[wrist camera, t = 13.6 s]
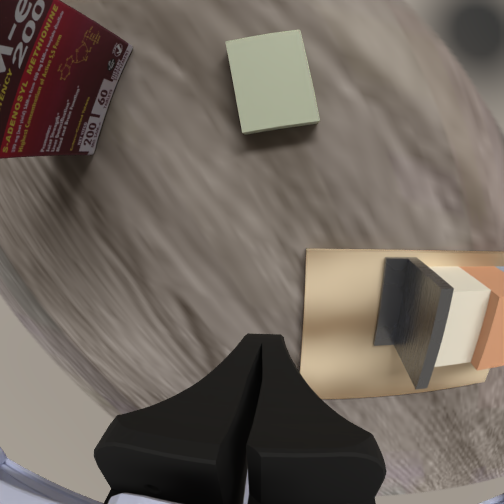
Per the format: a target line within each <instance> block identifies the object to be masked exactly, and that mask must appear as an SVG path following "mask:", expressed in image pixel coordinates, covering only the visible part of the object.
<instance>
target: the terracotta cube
mask: <svg viewBox="0 0 504 504" xmlns="http://www.w3.org/2000/svg"><path fill="white" fill-rule="evenodd" d="M460 268H461V269H463V270H464V271H466V272H467V273H468V274H470V275H471V276H472V277H474V278H475V279H477V280H478V281H479V282H481V283H482V284H483V285H485V286H486V287H487V288H489V289H490V290H491V293H490V297H489V301H488V305H487V309H486V313H485V317H484V321H483V324H482V328H481V331H480V335H479V338H478V341H477V344H476V347H475V351H474V354H473V357H472V359H471V364H472V365H473V366H474V368H475V369H476V370H477V371H478V370H483V369H489V368H494V367H499V366H503V365H504V272H503V271H501V270H500V269H498V268H496V267H495V266H479V267H460Z"/></svg>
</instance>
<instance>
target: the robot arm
mask: <svg viewBox="0 0 504 504" xmlns="http://www.w3.org/2000/svg"><path fill="white" fill-rule="evenodd" d="M94 458H95V460H96V463H97V465H98V467H99V469H100V470H101V472H102V474H103V475H104V477H105V479H106V480H107V482H108V484H109V485H110V487H111V490H110V492H109V494H108V496H107V498H106V500H105V502H104V503H101V502H99V501H96V500H93V499H91V498H88V497H86V496H83V495H81V494H78V493H75V492H73V491H71V490H69V489H66V488H64V487H62V486H60V485H58V484H56V483H53V482H51V481H49V480H47V479H45V478H43V477H41V476H39V475H37V474H35V473H33V472H31V471H30V470H28V469H26V468H24V467H22V466H21V465H19V464H17V463H15V462H14V461H11V460H10V459H8V458H7V457H6V454H5V453H4V451H3V450H2V449H1V447H0V504H376V503H375V496H376V494H377V492H378V490H379V489H380V487H381V485H382V483H383V481H384V479H385V475H386V467H385V462H384V459H383V456H382V453H381V451H380V449H379V446H378V444H377V442H376V440H375V438H374V436H373V435H372V434H371V433H369V432H367V431H365V430H364V429H362V428H360V427H358V426H356V425H354V424H353V423H351V422H349V421H348V420H346V419H345V418H343V417H342V416H340V415H339V414H338V413H336V412H335V411H334V410H333V409H332V408H330V407H329V406H328V405H327V404H326V403H325V402H324V401H323V400H322V399H321V398H320V397H319V396H318V395H317V394H316V393H315V392H314V391H313V390H312V389H311V387H310V386H309V385H308V384H307V382H306V381H305V380H304V378H303V377H302V375H301V374H300V372H299V371H298V369H297V368H296V366H295V364H294V362H293V360H292V359H291V357H290V355H289V353H288V350H287V348H286V345H285V342H284V337H283V336H282V335H275V334H247V335H246V336H244V338H243V339H242V340H241V342H240V343H239V344H238V345H237V346H236V348H235V349H234V350H233V351H232V352H231V353H230V354H229V355H228V356H227V357H226V358H225V359H224V360H223V361H222V362H221V363H220V364H219V365H218V366H217V367H216V368H215V369H214V370H213V371H211V372H210V373H209V374H208V375H207V376H205V377H204V378H203V379H202V380H200V381H199V382H197V383H196V384H194V385H193V386H191V387H190V388H188V389H186V390H184V391H182V392H181V393H179V394H177V395H175V396H173V397H171V398H169V399H167V400H165V401H162V402H160V403H157V404H155V405H152V406H150V407H147V408H144V409H140V410H137V411H133V412H129V413H126V414H122V415H117V416H116V418H115V419H114V420H113V421H112V423H111V424H110V425H109V427H108V428H107V430H106V432H105V433H104V435H103V436H102V438H101V440H100V441H99V443H98V444H97V446H96V448H95V449H94ZM478 504H504V493H503V494H501V495H498V496H496V497H493V498H491V499H489V500H486V501H483V502H481V503H478Z"/></svg>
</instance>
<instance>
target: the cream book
mask: <svg viewBox="0 0 504 504" xmlns="http://www.w3.org/2000/svg"><path fill="white" fill-rule="evenodd" d="M429 268H430V269H432V270H433V271H434V272H435V273H436V274H438V275H439V276H440V277H441V278H442V279H444V280H445V281H446V282H447V283H448V284H449V285H451V286H452V287H453V288H454V291H453V296H452V301H451V305H450V310H449V314H448V319H447V323H446V327H445V331H444V335H443V338H442V342H441V346H440V349H439V353H438V356H437V360H436V363H435V366H434V367H439V366H447V365H454V364H461V363H468V362H471V359H472V357H473V354H474V351H475V347H476V344H477V341H478V338H479V335H480V331H481V328H482V324H483V321H484V317H485V313H486V309H487V305H488V301H489V297H490V293H491V290H490V289H489V288H487V287H486V286H485V285H483V284H482V283H481V282H479V281H478V280H477V279H475V278H474V277H472V276H471V275H470V274H468V273H467V272H466V271H464V270H463V269H461V268H460V267H458V266H434V267H429Z"/></svg>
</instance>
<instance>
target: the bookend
mask: <svg viewBox="0 0 504 504" xmlns="http://www.w3.org/2000/svg"><path fill="white" fill-rule="evenodd" d="M453 291H454V288H453V287H452V286H451V285H449V284H448V283H447V282H446V281H445V280H444V279H442V278H441V277H440V276H439V275H438V274H436V273H435V272H434V271H433V270H432V269H430V268H429V267H428V266H427V265H426V264H424V263H423V262H422V261H421V260H419V259H418V258H417V257H385V263H384V273H383V281H382V289H381V297H380V304H379V311H378V317H377V324H376V330H375V336H374V341H373V345H374V346H380V345H394V347H395V349H396V351H397V353H398V355H399V357H400V359H401V361H402V363H403V365H404V367H405V369H406V371H407V373H408V375H409V377H410V379H411V381H412V383H413V385H414V387H415V389H416V390H417V389H425V388H427V387H428V385H429V382H430V379H431V376H432V372H433V369H434V366H435V363H436V360H437V356H438V353H439V349H440V346H441V342H442V338H443V335H444V331H445V327H446V323H447V319H448V314H449V310H450V305H451V301H452V296H453Z"/></svg>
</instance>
